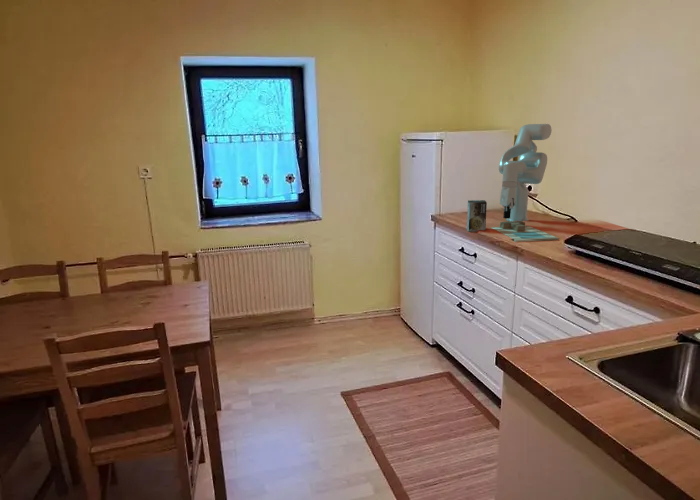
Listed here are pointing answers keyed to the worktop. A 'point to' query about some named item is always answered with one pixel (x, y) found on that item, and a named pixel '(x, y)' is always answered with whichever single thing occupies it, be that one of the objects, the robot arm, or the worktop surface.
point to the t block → (513, 226)
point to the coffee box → (476, 215)
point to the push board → (526, 234)
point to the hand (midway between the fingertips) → (506, 218)
